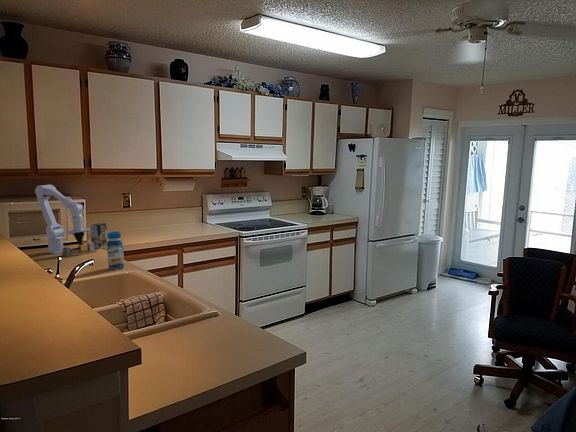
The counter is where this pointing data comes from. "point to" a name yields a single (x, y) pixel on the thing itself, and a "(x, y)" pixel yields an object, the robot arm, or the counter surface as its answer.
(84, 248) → the marker sleeve
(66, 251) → the cord board
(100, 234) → the coffee box
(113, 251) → the blue pill bottle
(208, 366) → the counter surface
